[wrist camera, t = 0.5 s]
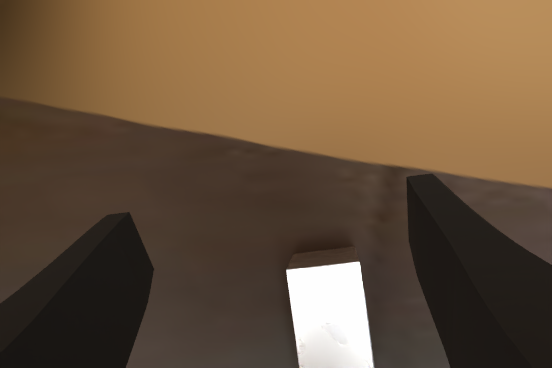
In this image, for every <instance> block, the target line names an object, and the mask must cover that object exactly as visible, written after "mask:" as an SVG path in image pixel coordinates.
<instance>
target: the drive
mask: <svg viewBox="0 0 552 368" xmlns="http://www.w3.org/2000/svg"><path fill="white" fill-rule="evenodd" d="M286 271H287V279H288V286H289V293H290V301H291V308H292V315H293V323H294V330H295V338H296V345H297V352H298V360H299V367H300V368H375V367H374V359H373V352H372V344H371V337H370V329H369V322H368V314H367V307H366V299H365V292H364V287H363V284H362V277H361V270H360V262H359V259H358V256H357V252H356V249H355V247H346V248H337V249H329V250H320V251H311V252H303V253H294V254H293V256H292V259H291V261H290V263H289V265H288V268H287V270H286Z"/></svg>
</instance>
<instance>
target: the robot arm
mask: <svg viewBox="0 0 552 368" xmlns="http://www.w3.org/2000/svg"><path fill="white" fill-rule="evenodd" d="M407 204H408V231H409V243H410V248H411V252H412V256H413V261H414V265H415V269H416V273H417V277H418V279H419V282H420V285H421V288H422V290H423V293H424V296H425V299H426V301H427V304H428V307H429V309H430V312H431V315H432V317H433V320H434V323H435V325H436V328H437V331H438V333H439V336H440V339H441V341H442V344H443V347H444V349H445V352H446V355H447V358H448V361H449V364H450V367H451V368H552V265H551V264H549V263H548V262H546V261H544V260H543V259H541V258H539V257H538V256H536V255H534V254H533V253H531V252H529V251H528V250H526V249H524V248H523V247H521V246H520V245H518V244H517V243H515V242H514V241H513V240H511V239H510V238H508V237H507V236H506V235H504V234H503V233H501V232H500V231H499V230H497V229H496V228H495V227H493V226H492V225H491V224H490V223H488V222H487V221H486V220H485V219H483V218H482V217H481V216H480V215H479V214H477V213H476V212H475V211H474V210H472V209H471V208H470V207H469V206H468V205H467V204H465V203H464V202H463V201H462V200H461V199H460V198H459V197H457V196H456V195H455V194H454V193H453V192H452V191H451V190H450V189H449V188H448V187H447V186H445V185H444V184H443V183H442V182H441V181H440V180H439V179H438V178H437V177H436V176H434V175H433V174H425V175H417V176H409V177H407ZM153 271H154V268H153V266H152V263H151V261H150V259H149V256H148V254H147V252H146V250H145V247H144V245H143V243H142V240H141V238H140V236H139V233H138V231H137V229H136V226H135V224H134V222H133V219H132V217H131V215H130V213H129V212H127V213H119V214H111V215H107V216H106V217H104V218H103V219H102V220H100V221H99V222H98V223H97V224H95V225H94V226H93V227H92V228H91V229H89V230H88V231H87V232H86V233H85V234H84V235H83V236H81V237H80V238H79V239H78V240H77V241H76V242H75V243H73V244H72V245H71V246H70V247H69V248H68V249H67V250H65V251H64V252H63V253H62V254H61V255H60V256H59V257H57V258H56V259H55V260H54V261H53V262H52V263H51V264H49V265H48V266H47V267H46V268H45V269H43V270H42V271H41V272H40V273H38V274H37V275H36V276H35V277H34V278H32V279H31V280H30V281H29V282H27V283H26V284H25V285H24V286H23V287H21V288H20V289H19V290H18V291H16V292H15V293H14V294H13V295H11V296H10V297H9V298H7V299H6V300H5V301H3V302H2V303H0V368H126V365H127V362H128V359H129V356H130V353H131V351H132V348H133V345H134V342H135V339H136V336H137V333H138V330H139V327H140V324H141V321H142V318H143V315H144V312H145V309H146V306H147V303H148V298H149V294H150V289H151V283H152V277H153Z"/></svg>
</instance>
